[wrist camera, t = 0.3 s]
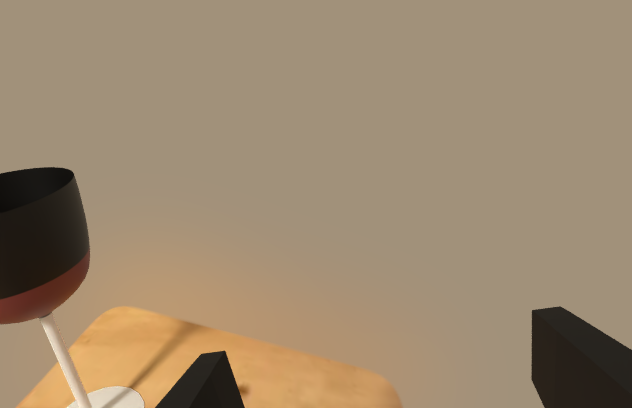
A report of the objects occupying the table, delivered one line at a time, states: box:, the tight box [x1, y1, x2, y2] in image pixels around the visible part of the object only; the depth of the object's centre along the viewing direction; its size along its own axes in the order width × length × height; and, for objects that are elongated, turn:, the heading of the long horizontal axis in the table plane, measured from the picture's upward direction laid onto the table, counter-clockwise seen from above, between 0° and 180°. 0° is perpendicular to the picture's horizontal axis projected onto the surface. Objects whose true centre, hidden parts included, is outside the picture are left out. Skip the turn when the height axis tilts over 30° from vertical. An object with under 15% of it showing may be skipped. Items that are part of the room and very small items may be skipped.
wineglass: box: [0, 167, 144, 408], centre depth 27 cm, size 8×9×20 cm
